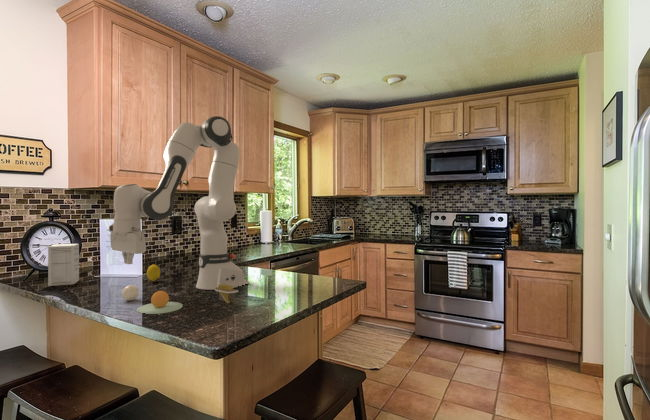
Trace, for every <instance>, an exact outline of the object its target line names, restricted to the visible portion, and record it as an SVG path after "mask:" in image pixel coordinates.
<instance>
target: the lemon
mask: <svg viewBox="0 0 650 420" xmlns="http://www.w3.org/2000/svg"><path fill="white" fill-rule="evenodd" d="M160 277H161V269H160V267H159V265H156V264H155V263H153V264H151V265H149V266H148V267H147V270H146V278H147V279H148V280H150V281H151V282H152V283H154V282H155V281H156V280H158V279H159V278H160Z"/></svg>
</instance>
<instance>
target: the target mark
mask: <svg viewBox="0 0 650 420" xmlns="http://www.w3.org/2000/svg"><path fill="white" fill-rule="evenodd" d="M183 307H184V306H183V303H180V302H177V301H168V303H167V304H166V305H165V306H164V307H159V308H158V307H155V306H153V304H152V303H147V304H143V305H141V306H138V307H137V309H136V312H137V313H140V314H143V313H145V315H160V314H169V313H172V312H176V311H178V310H180V309H182V308H183Z"/></svg>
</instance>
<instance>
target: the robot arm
mask: <svg viewBox="0 0 650 420" xmlns="http://www.w3.org/2000/svg"><path fill="white" fill-rule="evenodd" d="M166 143H167V144H166V146H165V148H164V150H163V155H162V158H163V161H164V163H165V170H164V172H163V174H162V176H161V179H160V181H159V184H158V185H157V188H156V189H155V190H153V191H149V190H146V189H144V188H143V187H141V186H140V185H139V184H136V183H131V184H130V183H129V184H123V185H120V186H118V187H116V188H115V190H114V193H113V210H114V217H113V223H112V224H110V225H109V226H108V231H109V232H110V234H109V237H110V239H109V240H110V248H111V250H112V251H115V252H116V251H117V252H121V255H122V258H123V263H124V265H125V264H126V265H133V263H134V262H133V259H134V257H135V255H138V254H141V255H142V254H145V253H146V250H147V243H146V236H145V234H144V232H143V231H142V225H141V224H142V222H141V220H142V219H141V218H142V217H148V218H150V219H152V220H157V221H162V220H165V219H167V218H168V217H169V216H170V215H171V214H172V213H173V210H174V206H175V205H174V204H175V202H174V198H175V194H176V192H177V189H178V187H179V184H180V182H181V180H182V177H183V176H184V173H185V172H186V170H187V169H188V167H189V165H190V164H191V163H192V160H193V159H194V157H195V155H196V153H197V150H198V148H199V147H200V146H201V147H204V148H212V149H213V158H212V160H211V166H210V169H209V173H208V177H207V182H208V187H209V188H208V195H205V196H203V197H201V198H200V199H198V200H197V201H196V202H195V205H194V206H193V207H194V208H193V209H194V213H195V216H196V219H197V223H198V229H199V234H200V246H199V247H200V253H199V255H198V256H199V257H198V268H199V271H198V277H197V282H196V285H195V288H196V289H199V290H209V291H210V290H214V291H215V289H216V287H218V285H222V284H225V285H231V286H232V288H233V289H234V288H239V287H243V286H242V285H244V286H246V285H245V284H248V285H250V281H249V280H248V279H245V275H244V270H243V269H242V268H241V267H239V266H238V265H236V264H235V263H234V262H232V260H235V258H236V255H235V254H234V253H228V234H227V232H226V230H225V227H224V222H226V221H229V220H231V219H232V218H233V217H234V216H235V215H236V212H237V205H236V203H235V198H234V194H235V193H234V186H235V181H236V177H237V173H238V168H239V162H240V147H239V146H238V144H237V143H235V142H234V141H233V134H232V127H231V124H230V123H229V121H228V120H227V119H226V118H225V117H223V116H218V115H215V116H211V117H209V118H208V119H206V120H204V121H203V122H202V123H200V125H196V124H194V123H191V122H188V121H186V122H182V123H180V124H179V125H178V126H177V127H176V128H175V130H174V132H173V133H172V135H171V136H170V137H169V140H168V142H166ZM231 259H232V260H231ZM238 286H239V287H238Z"/></svg>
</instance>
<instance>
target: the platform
mask: <svg viewBox="0 0 650 420" xmlns="http://www.w3.org/2000/svg"><path fill="white" fill-rule="evenodd" d="M214 291H215V292H218V300H219V301H221V300H222V302H225V303H226V304H231V303H230V302H234V303H233V304H235V301H236V299H235V296H236V295H235V294H236V293H238V292H239V289H234V288H232V286H231V285H225V284H222V285H218V287H216V289H215V290H214Z"/></svg>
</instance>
